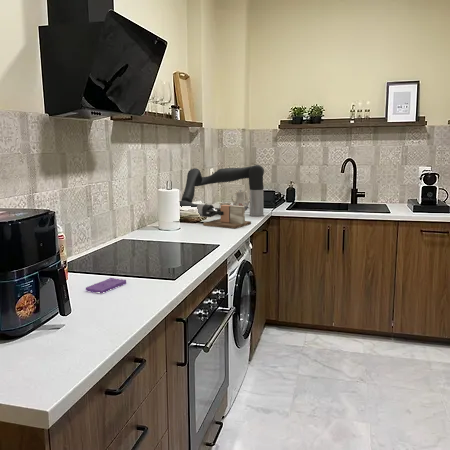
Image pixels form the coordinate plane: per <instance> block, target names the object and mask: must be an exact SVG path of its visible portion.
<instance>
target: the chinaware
mask: <svg viewBox="0 0 450 450" xmlns="http://www.w3.org/2000/svg"><path fill="white" fill-rule="evenodd" d="M247 192H248V190H245V191H244V190H243V189H242V188H241V187H239V188H238V190H237V191H236V190H235V192H234V193H232V194H231V198H230V199H231V201H232V203H231V202H230V201H228V202H226V201H222V202H219V206H218V208H221V205H234V206H245V211H246V210H247V208H249V206H250V200H249V197H248V194H247ZM234 195H235V200H233V196H234Z"/></svg>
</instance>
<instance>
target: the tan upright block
mask: <svg viewBox="0 0 450 450" xmlns="http://www.w3.org/2000/svg"><path fill="white" fill-rule="evenodd" d="M232 205H233V204H230V205H221V206H220V208H221V211H223V212H224V215H220V219H221V222H228V223H230V206H232Z"/></svg>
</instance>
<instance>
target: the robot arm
mask: <svg viewBox="0 0 450 450" xmlns="http://www.w3.org/2000/svg"><path fill="white" fill-rule="evenodd" d="M264 174H265V169H264V167H263V166H262V165H260V164H255V165H250V166H247V167H245V166H244V167H225V168H219V169H217V170H216V171H215V172H213V173H212V174H210V175H208V176H203V175H202V172H201V170H200V169H198V168H197V167H194V168H191V169H189V170H188V171H187V175H186V182H185V188H184V191H183V194H182V197H181V200H180V201H179V202H180V206H181V207H182V206H191V207H197V209H198V213H199V214H200V216H199V217H203V218H204V217H206V218H212V217H213V216H221V215H224V212H223V211H221V207H220V208H219V207H214V205H212V204H207V203H206V204H205V203H203V204H202V203H201V204H198V203H193V200H194V197H195V192H196V187H200V186H206V185H213V184H219V183H230V182H236V181H239V180H243V179H248V185H249V186H248V187H249V201H250V203H249V216H251V217H262V216H264V189H265V188H264Z"/></svg>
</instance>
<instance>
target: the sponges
mask: <svg viewBox="0 0 450 450" xmlns="http://www.w3.org/2000/svg"><path fill="white" fill-rule="evenodd" d="M123 284H125V285H126V284H127V279H122V278H121V279H120V278H114V277H109V278H106V279H105V280H102V281H99V282H97V283H94V284H92V285H89V286H87V287H85V291H86V292H87V291H93V292H100V293H103V292H105V293H107V292H106V291H108V290H110V289H112V290H114V289H113V288H115V287H117V288H119V287H118V286H120V287H122V286H124V285H123ZM121 285H122V286H121ZM115 289H116V288H115ZM110 291H111V290H110ZM93 292H92V293H93ZM108 292H109V291H108ZM103 294H104V293H103Z"/></svg>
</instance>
